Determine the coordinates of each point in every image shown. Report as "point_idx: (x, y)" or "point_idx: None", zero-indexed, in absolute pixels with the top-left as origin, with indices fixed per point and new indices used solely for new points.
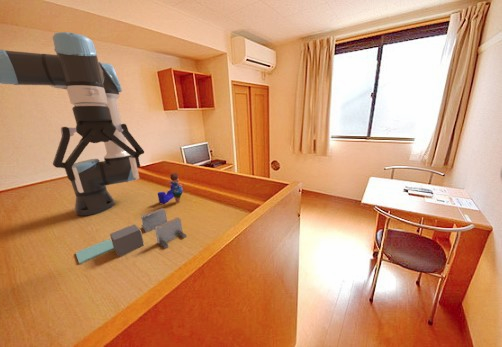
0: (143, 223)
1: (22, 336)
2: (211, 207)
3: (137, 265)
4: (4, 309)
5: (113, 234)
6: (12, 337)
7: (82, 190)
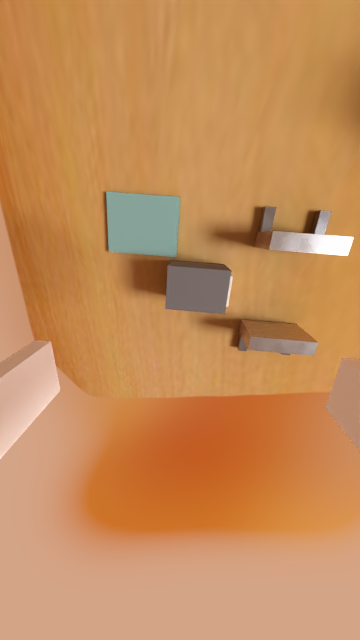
0: (263, 240)
1: None
2: None
3: (182, 348)
4: (19, 279)
5: (172, 278)
6: None
7: (51, 397)
